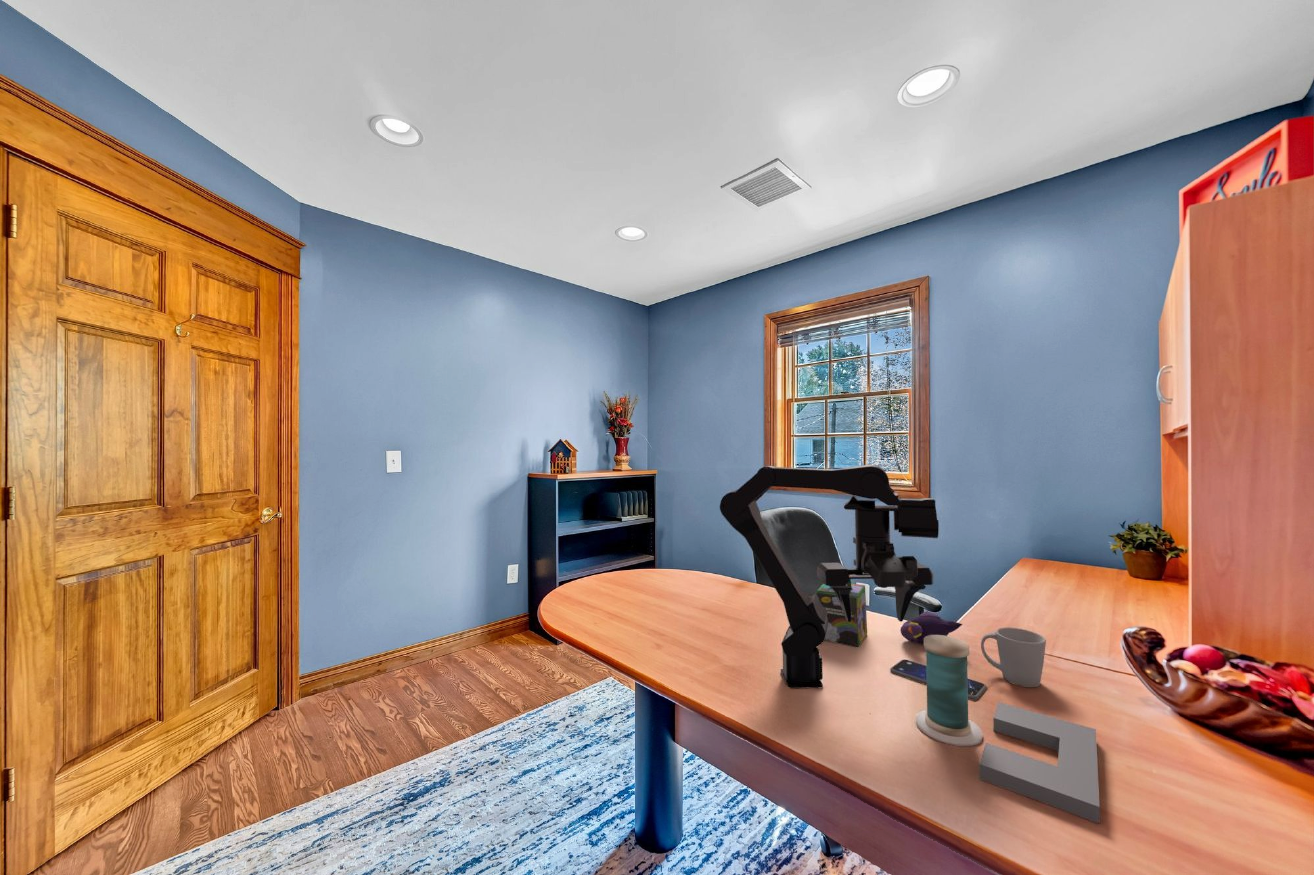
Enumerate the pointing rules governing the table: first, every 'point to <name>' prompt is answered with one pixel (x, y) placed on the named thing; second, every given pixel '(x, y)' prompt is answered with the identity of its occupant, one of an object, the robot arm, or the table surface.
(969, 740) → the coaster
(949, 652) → the bobbin
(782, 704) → the table surface
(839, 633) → the chalk box
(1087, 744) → the notched board
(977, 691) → the smartphone
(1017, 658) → the cup
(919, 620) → the toy
